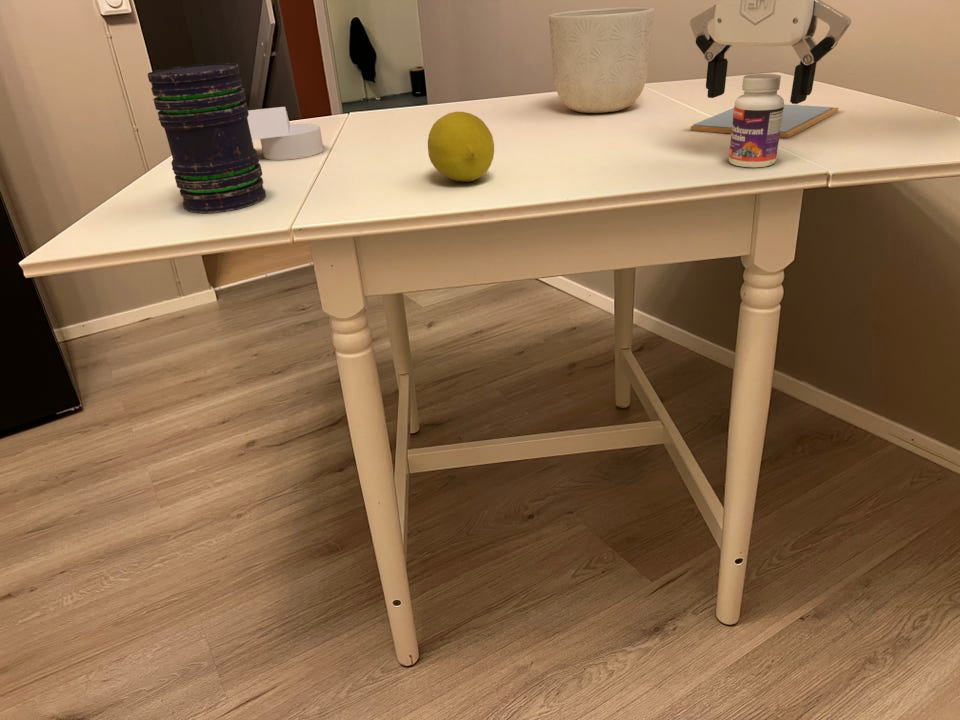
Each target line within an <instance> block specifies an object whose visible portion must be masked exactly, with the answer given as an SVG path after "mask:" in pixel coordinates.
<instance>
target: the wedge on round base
mask: <svg viewBox="0 0 960 720" xmlns="http://www.w3.org/2000/svg"><path fill="white" fill-rule="evenodd" d="M248 113H249V115H248V117H247V119H248V124H249V128H250V133H251V137H252V141H253V140H254V141H255V140H259V141H260V145H261V149H262V154H263V158H264V159H266V160H270V161H271V160H272V161H287V160H298V159H303V158H308V157H312V156H315V155H318V154H321V153H322V152H324V150H325V149H324V142H323V136H322V132H321V126H320V125H319V124H315V123H314V124H313V123H298V124H296V123H295V124H291V122H290V120H289V116H288V111H287V109H286V106H279V107H277V106H276V107H269V108H268V107H267V108H260V109H259V108H258V109H250V110H249V109H248Z"/></svg>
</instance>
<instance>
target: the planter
mask: <svg viewBox="0 0 960 720" xmlns="http://www.w3.org/2000/svg"><path fill="white" fill-rule="evenodd" d="M654 18H655V8H654V7H649V6H648V7H647V6H629V7H628V6H626V7H606V8H604V7H603V8H593V9H591V8H590V9H580V10H570V11H561V12H556V13H551V14H549V15H548V21H549V22H548V24H549V25H548V26H549V36H550V48H551V49H550V50H551V59H552V60H551V61H552V72H553V83H554V86H555V90H556V93H557V97H558V98H559V99H560V101H561V102H562V103H563V105H564V106H565V107H566V108H568V109H569V110H572V111H575V112H578V113H583V114H607V113H614V112H619V111H622V110H625V109H628V108H629V107H631V106H632V105H633V104H635V103H636V101H637V100H638V99H639V97H640V96H641V95H642V93H643V90H644V89H645V85H646V81H647V77H648V71H649V63H650V52H651V46H652V45H651V44H652V36H653V28H654V27H653V26H654Z"/></svg>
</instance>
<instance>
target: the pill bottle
mask: <svg viewBox="0 0 960 720" xmlns="http://www.w3.org/2000/svg"><path fill="white" fill-rule="evenodd" d="M781 78H782V76H781V75H779V74H774V73H753V74H747V75H745V76H743V78H742V85H741V87H742V88H741V90H742V91H743V94H741V95H740V96H738V97H737V98H736V99H735V101H734V107H733V108H734V114H733V124H732V133H731V134H730V142H729V151H728V162H729V164H731V165H733V166H737V167H742V168H765V167H770V166H772V165H773V164H776V161H777V157H778V152H779V151H778V149H779V144H780V138H779V137H780V130H781V123H782V116H783V109H784V104H785V100H784V98H783V96H781V95H779V94H778V91H779V90H780V86H781V81H782V80H781Z"/></svg>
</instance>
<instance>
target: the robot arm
mask: <svg viewBox="0 0 960 720" xmlns="http://www.w3.org/2000/svg"><path fill="white" fill-rule="evenodd" d="M819 20H821V21H823V22H824V23H826V24H827V25H828V26H829V30H828V31H827V33H826V35H825V37H824V38H823V39H821V40H820V41H819V42H818V43H816V41H815V39H814V36H815V33H816V30H817V27H818V22H819ZM711 22H713V23H712V36H711V34H710V33H709V29H708V25H709V24H710V23H711ZM851 23H852V19H851V17H850V16H848V15H846V14H844V13H843V12H841V11H839V10H838V9H837V8H834V7H833V6H831V5H830V4H827V3H826V2H825V1H823V0H716V3H715V4H714V5H713V6H711V7H710V8H708V9H706V10H704V11H702V12H701V13H699V14H697V15H695V16H693V17H692V18H691V19H690V21H689V25H690V28H691V31H692V34H693V37H694V39H695V44H696V46H697V47H698V50H700V52H701V53H702V54H703V57H704V60H705V61H706V62H707V70H706V79H705V88H706V90H707V98H708V99H714V98H717V97H720V96H722V95H724V94H725V92H726V82H727V73H728V65H729V60H728V58H725V55H726V54H727V53H728V51H729V50H730V49H731V48H732V47H733V46H743V47H745V46H746V47H748V46H750V47H788V46H791V47H792V49H793V51H794V52H795V53H796V55H797V56H798V58H799V61H800V62H799V64H797V65H796V66H795V68H794V74H793V79H792V85H791V86H792V87H791V94H790V97H789V98H790V99H789V102H790V103H791V105H799V104H801V103H803V102H805V101H807V97H808V96H810V95H811V94H812V91H813V87H814V82H815V75H816V69H817V63H819V62H820V61H821V60H822V59H823V58H824V57H825V56H826V55H827V54H828V53H830V51H832V50H833V49H834V48H835V47H836V46H837V45H838V43H839V41H840V40H841V39H842V37H843V36H844V35H845V33H846V32H847V30H848V29H849V27H850V25H851Z"/></svg>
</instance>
